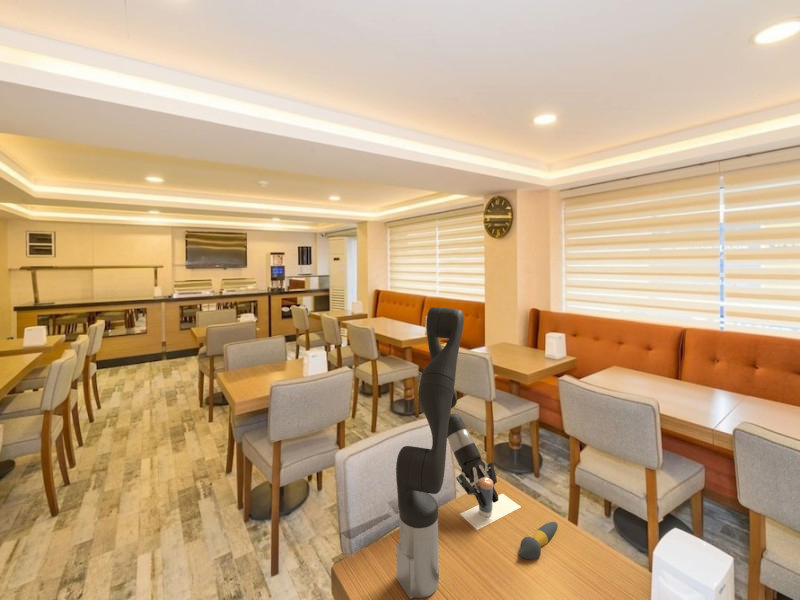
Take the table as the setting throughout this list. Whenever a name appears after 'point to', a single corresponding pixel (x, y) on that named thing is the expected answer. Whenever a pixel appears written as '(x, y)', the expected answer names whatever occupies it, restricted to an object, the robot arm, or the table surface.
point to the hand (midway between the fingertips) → (490, 503)
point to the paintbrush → (537, 541)
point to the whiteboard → (498, 511)
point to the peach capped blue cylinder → (486, 496)
